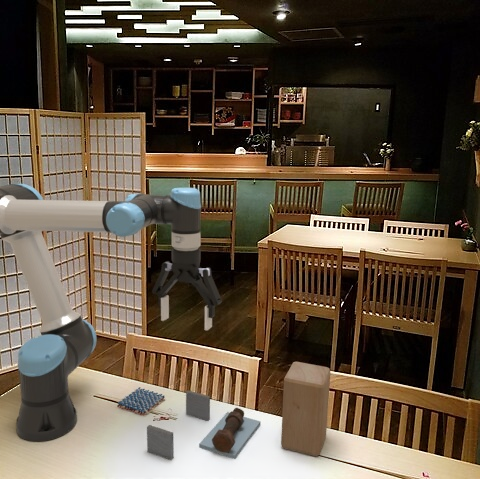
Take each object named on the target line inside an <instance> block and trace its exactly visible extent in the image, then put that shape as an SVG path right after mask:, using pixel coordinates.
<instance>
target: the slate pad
mask: <svg viewBox="0 0 480 479" xmlns="http://www.w3.org/2000/svg"><path fill="white" fill-rule="evenodd" d="M229 413H230V412H229V411H227V412H226V413H225V414H224V415H223V417H222V418H221V419H220V420H219V421H218V422H217V423H216V424H215V425H214V427H213V428H212V429H211V430H210V431H209V432H208V433H207V434H206V436H205V437H204V438H203V439H202V440H201V441H200V443H199V445H198V447H199V448H201V449H202V450H206V451H209V452H213V453H215V454H219V455H222V456H225V457H228V458H231V459H233V460H235V459H236V458H237V457H238V455H240V453H241V451H243V449H244V448H245V446H246V445H247V443H248V442H249V440H251V439H252V437H253V436H254V434H255V433H256V431H257V430H259V429H258V428H259V427H260V426H261V420H257V419H255V418H254V419H253V418H249V417H246V416H244V417H243V419H244V422H243V424H242V426H241V427H240V428H239V430H236V432H235V434H234V436H233V438H234V440H235V444H234V445H233V447H232V448H231V450H230V451H229V452H228V453H224V452H220V451H218V450H216V449H215V447H214V445H213V443H212V438H213V437H214V435H215V434H216V433H217V431H218V430H219V429H220V430H223V428H224V426H225V424H226V422H225V419H226V417H227V416H228V415H229Z"/></svg>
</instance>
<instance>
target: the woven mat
mask: <svg viewBox="0 0 480 479" xmlns="http://www.w3.org/2000/svg"><path fill="white" fill-rule="evenodd" d="M164 401H166V397H165V395H163V393H160V394H159V393H158V392H154V391H152V390H151V391H150V389H146V388H141V387H139V386H138V388H136V389H134V391H131V393H129V394H128V395H125V396H124V398H121V400H119V401H118V403H117V406H116V407H117V408H118V409H121V410H125V411H127V412H131V413H134V414H136V415H139V416H142V417H147V415H149V413H152V411H153V410H155V408H156V407H158V405H161V404H163V402H164Z"/></svg>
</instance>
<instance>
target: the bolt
mask: <svg viewBox="0 0 480 479" xmlns="http://www.w3.org/2000/svg"><path fill="white" fill-rule="evenodd" d="M243 417H245V411H244V410H243V409H241V408H239V407H235V408H234V409H233V410H232V411H230V412H229V415H228V416H227V417H226V419H225V422H226V424H225V426H224V428H223V430H220V429H219V430H218V431H217V433H216V434H215V435H214V437H213V438H212V443H213V445H214V447H215V449H216V450H218V451H220V452H224V453H228V452H229V451H230V450H231V448H232V447H233V445H234V444H235V440H234V438H233V436H234V434H235V432H236V430H239V428H240V427H241V426H242V424H243V422H244V419H243Z"/></svg>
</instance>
